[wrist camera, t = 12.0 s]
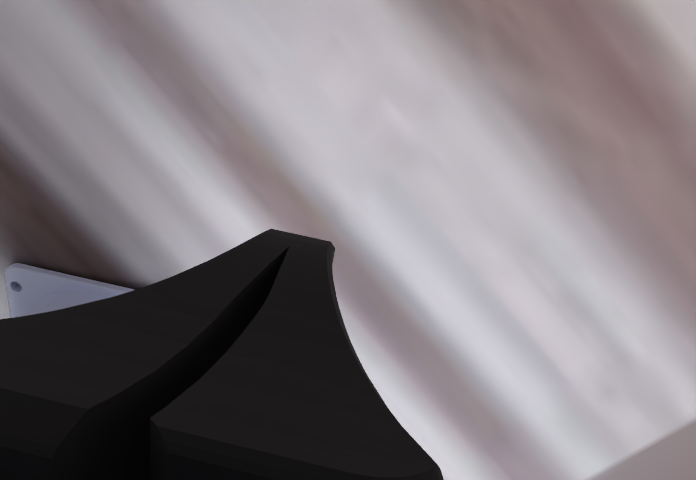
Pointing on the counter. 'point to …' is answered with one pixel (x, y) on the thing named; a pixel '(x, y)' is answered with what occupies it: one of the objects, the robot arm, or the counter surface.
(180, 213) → the counter surface
